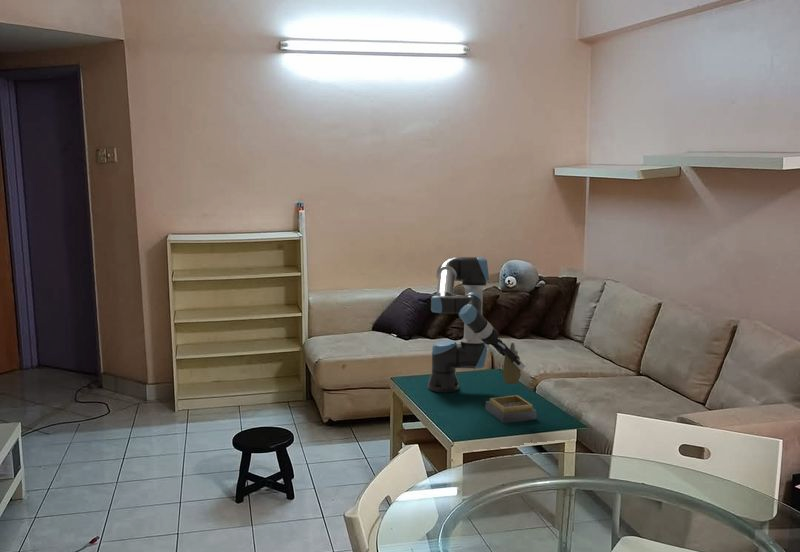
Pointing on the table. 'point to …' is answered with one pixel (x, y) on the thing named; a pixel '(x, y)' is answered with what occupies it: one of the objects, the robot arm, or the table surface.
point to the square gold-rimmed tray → (510, 409)
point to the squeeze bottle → (511, 368)
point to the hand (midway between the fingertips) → (519, 366)
